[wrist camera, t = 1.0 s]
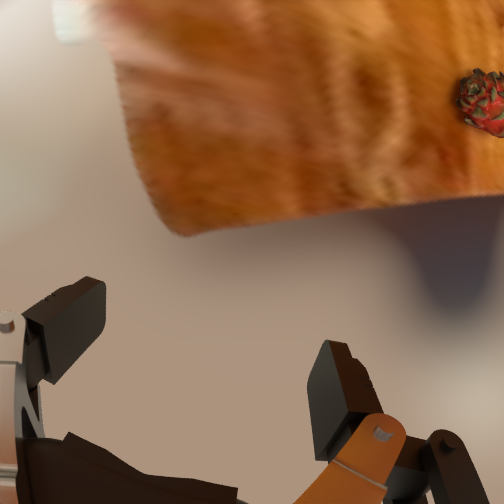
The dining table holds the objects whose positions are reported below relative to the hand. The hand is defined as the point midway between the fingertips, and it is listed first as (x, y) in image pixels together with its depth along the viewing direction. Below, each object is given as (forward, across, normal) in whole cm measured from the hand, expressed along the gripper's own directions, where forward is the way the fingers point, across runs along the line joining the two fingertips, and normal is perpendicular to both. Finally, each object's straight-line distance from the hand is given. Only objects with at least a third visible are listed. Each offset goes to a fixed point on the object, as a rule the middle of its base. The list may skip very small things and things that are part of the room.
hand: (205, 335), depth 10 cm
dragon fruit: (+24, -25, -24) cm, 42 cm away
